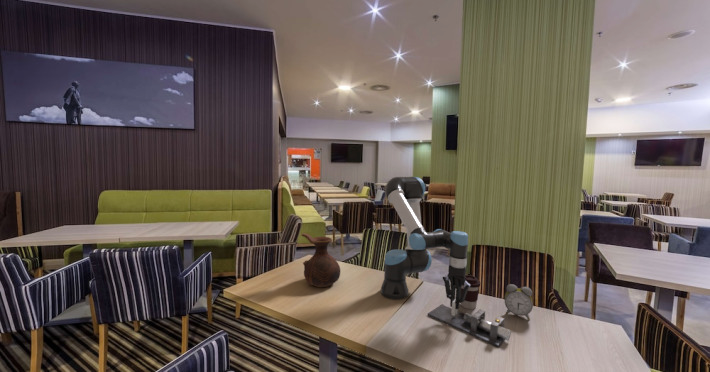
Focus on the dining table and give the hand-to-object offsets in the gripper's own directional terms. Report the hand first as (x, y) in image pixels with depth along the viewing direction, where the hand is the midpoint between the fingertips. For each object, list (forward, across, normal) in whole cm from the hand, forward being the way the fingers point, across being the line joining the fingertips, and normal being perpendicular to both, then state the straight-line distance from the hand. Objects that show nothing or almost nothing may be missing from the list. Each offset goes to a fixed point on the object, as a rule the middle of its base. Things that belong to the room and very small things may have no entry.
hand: (454, 314), depth 135 cm
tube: (+1, +15, 0) cm, 15 cm away
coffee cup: (+2, -1, +17) cm, 17 cm away
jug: (+3, -72, -22) cm, 75 cm away
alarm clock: (+2, +20, +26) cm, 32 cm away
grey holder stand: (+2, +6, 0) cm, 7 cm away
